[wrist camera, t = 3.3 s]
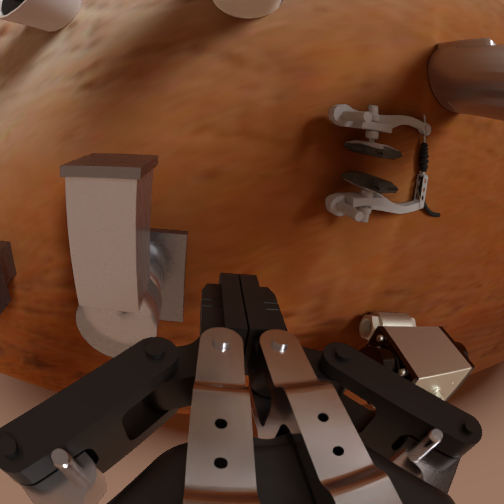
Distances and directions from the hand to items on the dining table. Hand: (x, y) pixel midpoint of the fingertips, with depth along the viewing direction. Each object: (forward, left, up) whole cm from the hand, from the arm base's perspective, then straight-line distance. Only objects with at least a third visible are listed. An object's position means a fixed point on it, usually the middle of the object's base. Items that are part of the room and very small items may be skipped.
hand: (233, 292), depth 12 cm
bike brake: (-6, +20, -20) cm, 29 cm away
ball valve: (+17, +27, -20) cm, 38 cm away
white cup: (-21, -22, -20) cm, 36 cm away
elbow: (+6, -9, -14) cm, 18 cm away
